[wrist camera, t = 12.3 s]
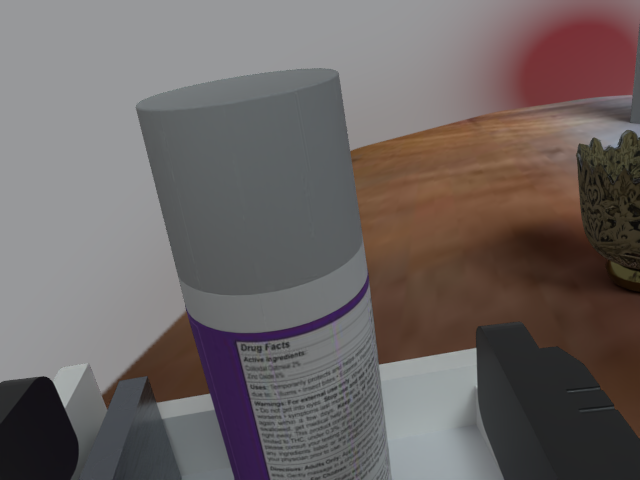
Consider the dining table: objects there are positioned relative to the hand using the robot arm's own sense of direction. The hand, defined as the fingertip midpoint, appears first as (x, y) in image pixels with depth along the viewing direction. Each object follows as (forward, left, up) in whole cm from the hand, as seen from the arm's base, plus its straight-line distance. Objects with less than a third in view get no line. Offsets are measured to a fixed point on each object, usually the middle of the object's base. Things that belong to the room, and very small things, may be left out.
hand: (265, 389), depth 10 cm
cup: (-20, -17, -11) cm, 28 cm away
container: (0, -4, -10) cm, 11 cm away
